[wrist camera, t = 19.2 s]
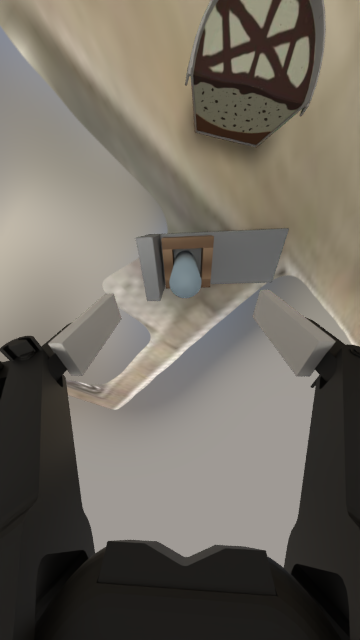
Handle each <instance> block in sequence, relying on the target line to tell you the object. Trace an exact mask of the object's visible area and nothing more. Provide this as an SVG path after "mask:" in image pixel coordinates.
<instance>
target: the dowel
mask: <svg viewBox="0 0 360 640" xmlns="http://www.w3.org/2000/svg"><path fill="white" fill-rule="evenodd" d="M169 284H170V288H171V290H172V292H173V293H174V294H175V295H176V296H178V297H181V298H190V297H192V296H194V295H196V294H197V293H198V291H199V290H200V288H201V277H200V274H199V271H198V268H197V264H196V261H195V258H194V256H193V254H192V253H191V252H189V251H187V250H184V251H181V252H179V253H178V254H177V256H176V259H175V262H174V266H173V269H172V273H171V277H170V281H169Z"/></svg>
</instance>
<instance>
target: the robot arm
mask: <svg viewBox="0 0 360 640" xmlns="http://www.w3.org/2000/svg"><path fill="white" fill-rule="evenodd" d="M253 318H254V319H255V321H256V322H257V323H258V325H259V326H260V327H261V329H262V330H263V332H264V333H265V334H266V336H267V337H268V338H269V340H270V341H271V342H272V343H273V345H274V346H275V348H276V349H277V351H278V352H279V353H280V354H281V356H282V357H283V358H284V360H285V361H286V363H287V364H288V366H289V367H290V368H291V370H292V371H293V372H294V374H295V375H296V376H310V375H311V374H312V373H313V371H314V370H316V371H317V372H318V373H319V374H320V375H319V377H318V378H317V379H316V380H315V382H314V383H313V384H312V386H311V387H312V388H313V387H314V386H316V388H315V396H314V403H313V411H312V418H311V426H310V434H309V440H308V448H307V455H306V463H305V470H304V477H303V485H302V492H301V500H300V508H299V514H298V519H297V522H296V524H295V526H294V528H293V529H292V531H291V534H290V537H289V541H288V545H287V551H286V558H285V565H284V568H283V567H282V566H281V565H279V564H278V563H276V562H275V561H274V560H272V559H271V558H269V557H267V554H266V551H265V550H259V549H254V548H249V547H241V546H223V545H214V546H212V547H210V548H208V549H205V550H203V551H201V552H199V553H197V554H195V555H192V556H190V557H183V556H181V555H180V554H178V553H176V552H174V551H173V550H171V549H169V548H168V547H166V546H164V545H163V544H161V543H159V542H157V541H140V540H120V541H108V542H107V546H106V547H105V548H103V549H102V550H100V551H99V552H97V553H95V550H94V543H93V537H92V532H91V527H90V524H89V521H88V519H87V517H86V515H85V513H84V511H83V508H82V502H81V494H80V486H79V478H78V471H77V464H76V455H75V448H74V440H73V432H72V425H71V417H70V409H69V401H68V393H67V386H66V378H65V376H64V375H63V374H64V372H65V371H66V370H68V372H69V373H70V374H71V375H74V376H78V375H79V376H82V375H84V373H85V372H86V370H87V369H88V367H89V366H90V364H91V363H92V361H93V360H94V359H95V357H96V356H97V354H98V353H99V351H100V350H101V348H102V347H103V345H104V344H105V342H106V341H107V339H108V338H109V337H110V335H111V334H112V332H113V331H114V329H115V328H116V326H117V325H118V323H119V322H120V320H121V315H120V312H119V309H118V306H117V303H116V300H115V296H114V294H105V295H104V296H103V297H101V298H100V299H99V300H98V301H97V302H95V303H94V304H93V305H92V306H91V307H90V308H88V309H87V310H86V311H85V312H84V313H83V314H82V315H81V316H79V317H78V318H77V319H76V320H75V321H74V322H72V323H70V324H68V325H67V326H65V327H64V328H63V329H62V331H59V332H58V333H57V335H55V336H54V337H52V338H51V339H50V340H49V341H48V342H47V343H45V344H44V345H43V346H42V347H41V346H40V345H39V343H38V342H37V341H36V339H35V338H34V337H33V336H24V337H20V338H18V339H14V340H12V341H10V342H8V343H7V344H5V345H4V346H2V347H1V349H0V351H1V352H2V353H3V354H4V355H5V356H6V357H7V358H8V359H9V360H10V361H6V362H0V640H360V347H359V346H355V345H345V344H344V343H342V342H341V341H340V340H338V339H337V338H336V337H334V336H333V335H332V334H330V333H329V332H328V331H326V330H325V329H324V328H322V327H320V325H318V324H317V323H316V322H314V321H313V320H310V319H308V318H306V317H304V316H302V315H301V314H300V313H299V312H297V311H296V310H295V309H293V308H292V307H291V306H290V305H288V304H287V303H286V302H284V301H283V300H282V299H280V298H279V297H278V296H277V295H275V294H274V293H273V292H271V291H270V290H260V293H259V297H258V300H257V303H256V307H255V311H254V314H253Z"/></svg>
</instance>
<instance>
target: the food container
mask: <svg viewBox="0 0 360 640" xmlns="http://www.w3.org/2000/svg"><path fill="white" fill-rule="evenodd" d="M325 30H326V28H325V7H324V0H211V1H210V3H209V5H208V7H207V9H206V11H205V13H204V15H203V17H202V20H201V23H200V26H199V29H198V32H197V34H196V37H195V41H194V45H193V49H192V53H191V57H190V61H189V65H188V69H187V76H186V82H185V85H186V86H187V83H188V79H189V76H191V85H192V98H193V111H194V125H195V133H199V134H203V135H207V136H212V137H216V138H220V139H224V140H228V141H232V142H236V143H240V144H244V145H248V146H252V147H257V146H258V145H260V144H261V143H262V142H263V141H264V140H266V139H267V138H268V137H269V136H270V135H272V134H273V133H274V132H275V131H276V130H278V129H279V128H280V127H281V126H282V125H284V124H285V123H286V122H287V121H288V120H289V119H291V118H292V117H293V116H294V115H295V114H297V113H298V112H299V111H300V110H301V109H302V111H301V114H300V116H302V115H303V113H304V112H305V110H306V109H307V108H308V106H309V103H310V101H311V99H312V96H313V93H314V90H315V87H316V84H317V80H318V77H319V73H320V69H321V64H322V58H323V52H324V43H325Z"/></svg>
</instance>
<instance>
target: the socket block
mask: <svg viewBox="0 0 360 640" xmlns="http://www.w3.org/2000/svg"><path fill="white" fill-rule="evenodd" d="M161 241H162V251H163V261H164V272H165V282H166V288H170V284H169V281H170V277H171V273H172V269H173V266H174V251H173V249H193V248H201V273H200V277H201V288H202V287H210V282H211V269H212V257H213V244H214V236H212V235H204V236H181V237H163V238H161Z"/></svg>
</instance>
